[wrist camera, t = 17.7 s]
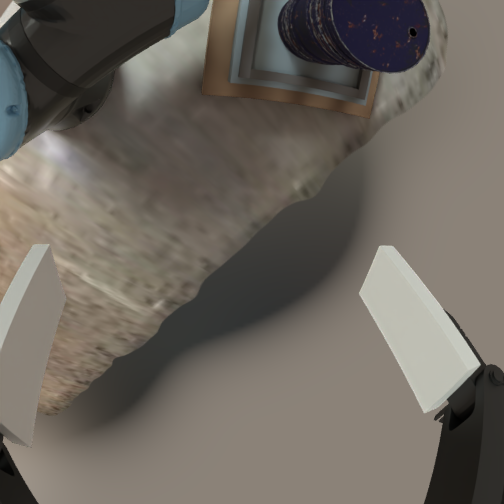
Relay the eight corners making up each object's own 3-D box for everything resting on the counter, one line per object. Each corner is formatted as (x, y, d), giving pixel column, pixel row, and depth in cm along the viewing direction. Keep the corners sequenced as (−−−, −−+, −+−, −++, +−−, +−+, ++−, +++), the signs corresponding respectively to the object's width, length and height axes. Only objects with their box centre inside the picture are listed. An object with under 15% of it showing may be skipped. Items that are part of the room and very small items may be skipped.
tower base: (201, 91, 37) (202, 98, 31) (221, -47, 25) (227, -66, 18) (356, 113, 42) (383, 125, 36) (378, -8, 30) (407, -13, 24)
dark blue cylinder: (269, 53, 30) (317, 52, 18) (283, -17, 24) (339, -53, 12) (344, 72, 32) (419, 90, 20) (358, 7, 27) (438, -2, 15)
